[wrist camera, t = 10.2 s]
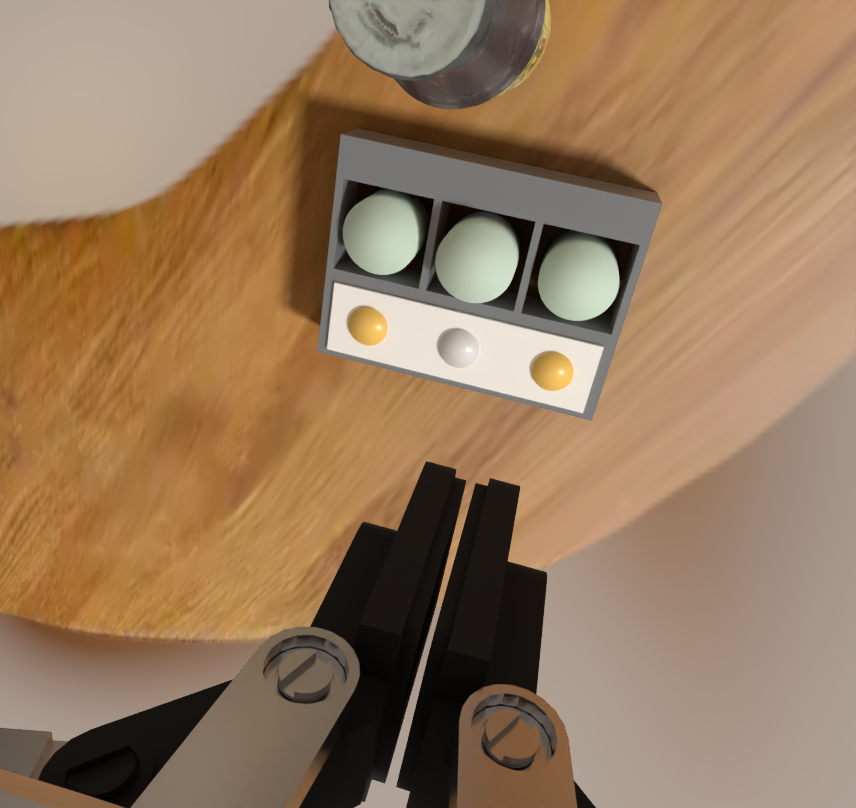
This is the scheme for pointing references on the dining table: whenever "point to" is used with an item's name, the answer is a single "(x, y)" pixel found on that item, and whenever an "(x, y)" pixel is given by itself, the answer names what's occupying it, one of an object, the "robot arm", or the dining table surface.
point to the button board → (490, 321)
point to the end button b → (579, 276)
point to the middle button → (478, 257)
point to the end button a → (386, 231)
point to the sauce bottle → (447, 44)
